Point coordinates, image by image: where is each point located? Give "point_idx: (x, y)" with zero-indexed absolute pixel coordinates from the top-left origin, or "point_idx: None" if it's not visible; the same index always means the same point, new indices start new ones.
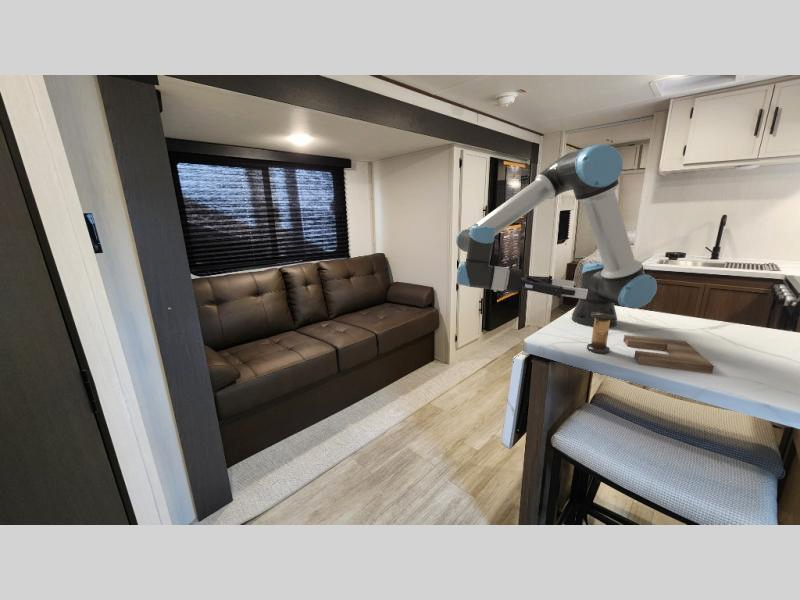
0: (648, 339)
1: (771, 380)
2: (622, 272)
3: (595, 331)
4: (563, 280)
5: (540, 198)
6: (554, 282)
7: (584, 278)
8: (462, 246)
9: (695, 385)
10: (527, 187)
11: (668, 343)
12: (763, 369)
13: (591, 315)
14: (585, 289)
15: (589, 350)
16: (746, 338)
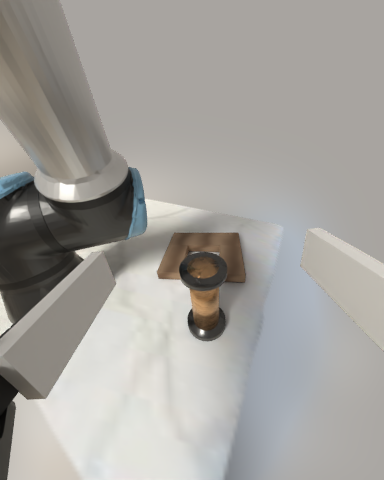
0: (173, 254)
1: (233, 220)
2: (116, 171)
3: (213, 306)
4: (71, 288)
5: None
6: (39, 355)
7: None
8: None
9: (276, 254)
10: None
11: (184, 243)
12: (213, 218)
13: (201, 290)
14: (327, 232)
15: (216, 338)
16: (151, 211)
